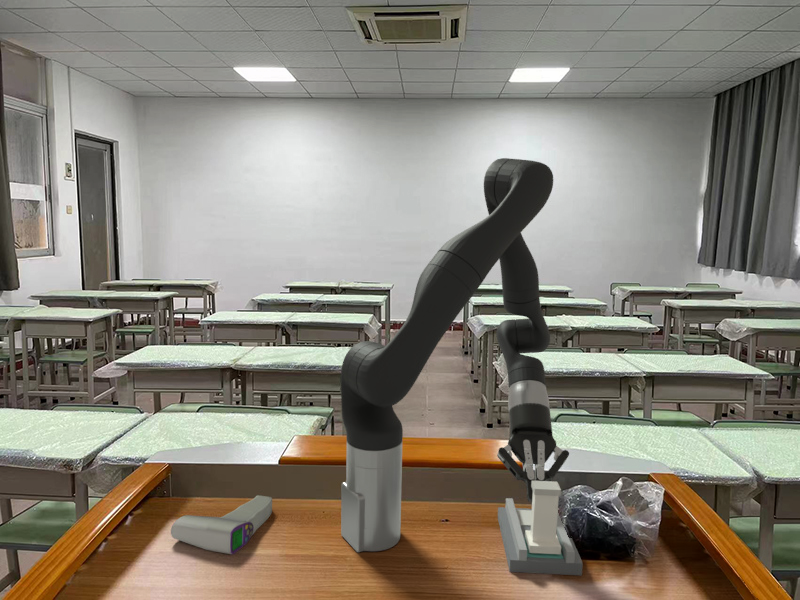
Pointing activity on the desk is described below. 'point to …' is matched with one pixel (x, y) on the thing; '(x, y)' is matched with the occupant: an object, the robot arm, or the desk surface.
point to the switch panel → (517, 550)
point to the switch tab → (544, 518)
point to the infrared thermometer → (224, 527)
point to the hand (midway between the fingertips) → (536, 504)
